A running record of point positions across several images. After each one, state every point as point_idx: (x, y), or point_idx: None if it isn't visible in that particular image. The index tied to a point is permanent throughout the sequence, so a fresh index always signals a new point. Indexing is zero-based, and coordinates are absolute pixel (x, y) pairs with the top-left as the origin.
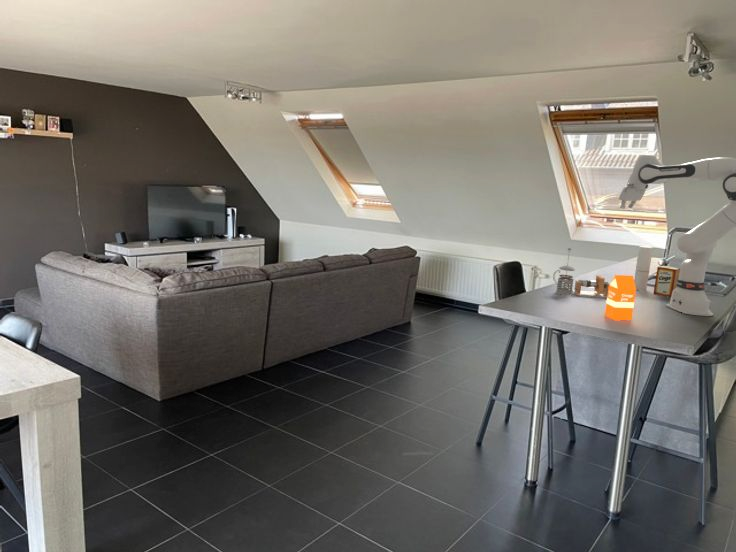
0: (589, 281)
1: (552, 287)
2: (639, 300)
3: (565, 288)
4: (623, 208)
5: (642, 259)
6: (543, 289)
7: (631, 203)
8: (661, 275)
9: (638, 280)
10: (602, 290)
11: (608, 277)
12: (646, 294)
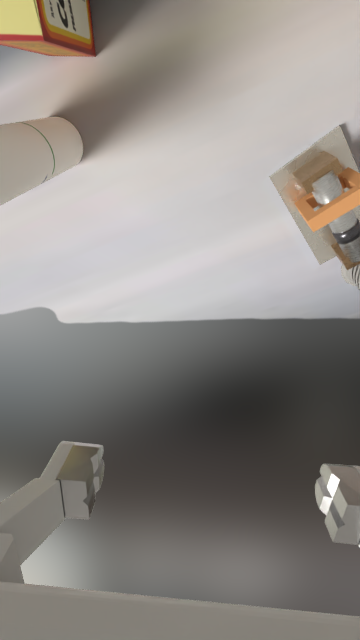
0: (357, 228)
1: (302, 312)
2: (291, 31)
3: (351, 275)
4: (355, 467)
5: (24, 162)
6: (351, 314)
7: (44, 524)
8: (57, 10)
9: (69, 149)
10: (353, 171)
11: (6, 282)
12: (136, 72)
